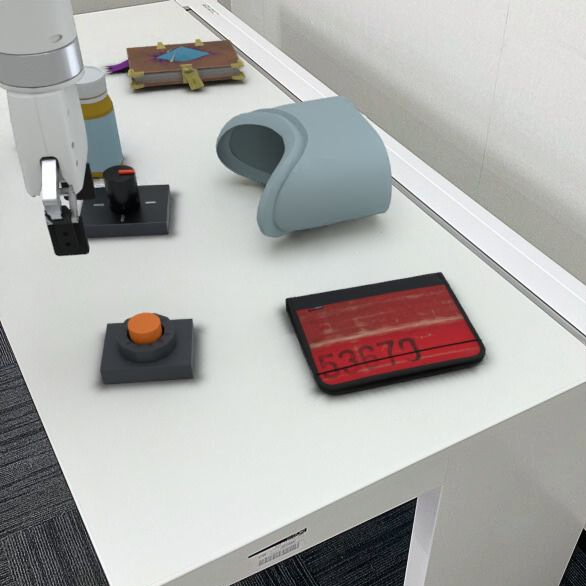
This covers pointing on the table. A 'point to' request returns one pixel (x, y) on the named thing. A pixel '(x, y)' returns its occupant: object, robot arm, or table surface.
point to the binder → (384, 333)
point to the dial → (121, 188)
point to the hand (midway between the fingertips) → (77, 224)
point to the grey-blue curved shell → (309, 163)
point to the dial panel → (128, 214)
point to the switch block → (148, 353)
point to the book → (182, 64)
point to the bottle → (99, 122)
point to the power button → (144, 328)
